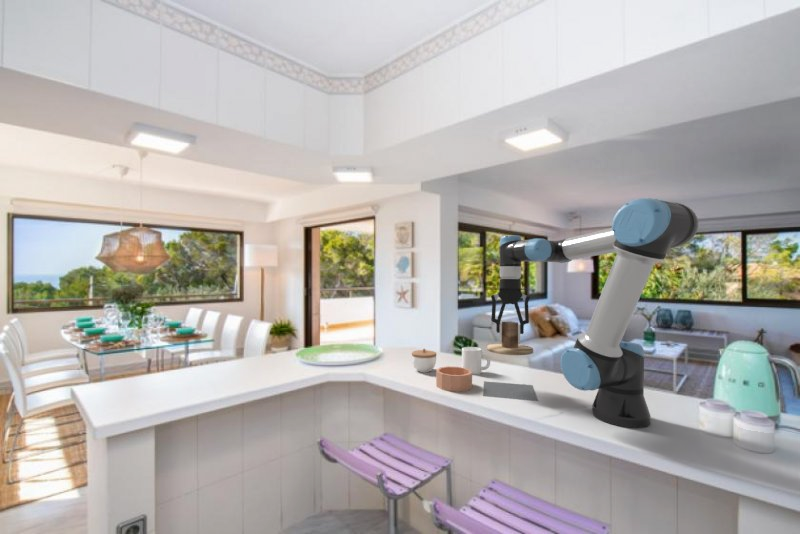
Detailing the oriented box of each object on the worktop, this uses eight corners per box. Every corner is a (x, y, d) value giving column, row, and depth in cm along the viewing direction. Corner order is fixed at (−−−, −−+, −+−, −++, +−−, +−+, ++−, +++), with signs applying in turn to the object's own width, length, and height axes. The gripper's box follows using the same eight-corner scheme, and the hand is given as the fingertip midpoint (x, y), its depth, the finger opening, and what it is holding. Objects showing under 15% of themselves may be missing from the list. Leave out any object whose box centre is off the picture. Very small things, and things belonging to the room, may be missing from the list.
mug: (490, 372, 163) (491, 348, 163) (489, 377, 155) (489, 352, 155) (463, 369, 167) (463, 346, 167) (460, 374, 159) (460, 349, 159)
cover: (543, 352, 133) (543, 323, 133) (509, 356, 126) (509, 326, 126) (510, 345, 147) (510, 318, 147) (478, 348, 140) (478, 320, 140)
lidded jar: (406, 370, 164) (406, 348, 165) (423, 366, 172) (423, 345, 172) (424, 375, 156) (424, 352, 157) (441, 370, 164) (441, 349, 164)
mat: (532, 386, 143) (532, 385, 143) (538, 402, 125) (538, 400, 125) (483, 382, 147) (483, 381, 147) (482, 397, 130) (483, 395, 130)
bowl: (478, 389, 138) (478, 373, 138) (449, 394, 132) (449, 377, 132) (457, 380, 150) (457, 365, 150) (429, 384, 144) (430, 368, 144)
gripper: (537, 278, 138) (536, 342, 137) (484, 277, 143) (484, 339, 143) (538, 278, 130) (537, 345, 130) (483, 278, 136) (482, 342, 136)
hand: (509, 342), depth 136 cm, fingers closed on cover, 6 cm apart
